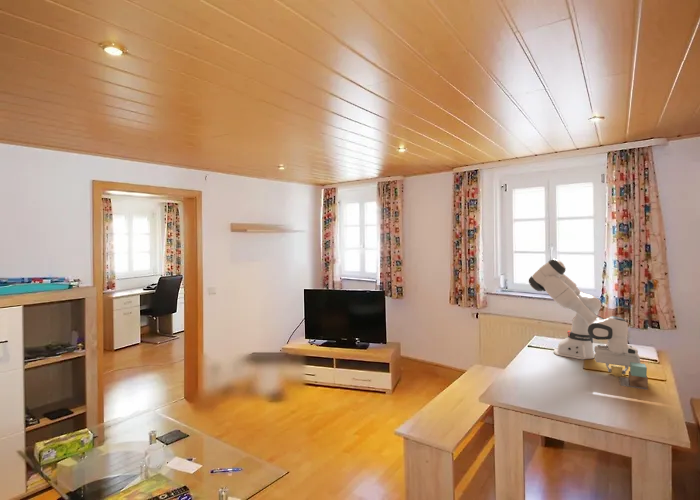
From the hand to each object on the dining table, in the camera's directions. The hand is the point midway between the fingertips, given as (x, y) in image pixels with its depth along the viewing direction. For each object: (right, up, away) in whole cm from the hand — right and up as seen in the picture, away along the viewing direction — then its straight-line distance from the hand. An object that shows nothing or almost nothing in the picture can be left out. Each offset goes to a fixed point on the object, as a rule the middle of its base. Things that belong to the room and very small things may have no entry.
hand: (616, 372), depth 212 cm
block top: (+1, +3, -14) cm, 14 cm away
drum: (0, -2, 0) cm, 2 cm away
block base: (+1, -2, -13) cm, 14 cm away
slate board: (0, -2, -12) cm, 12 cm away
